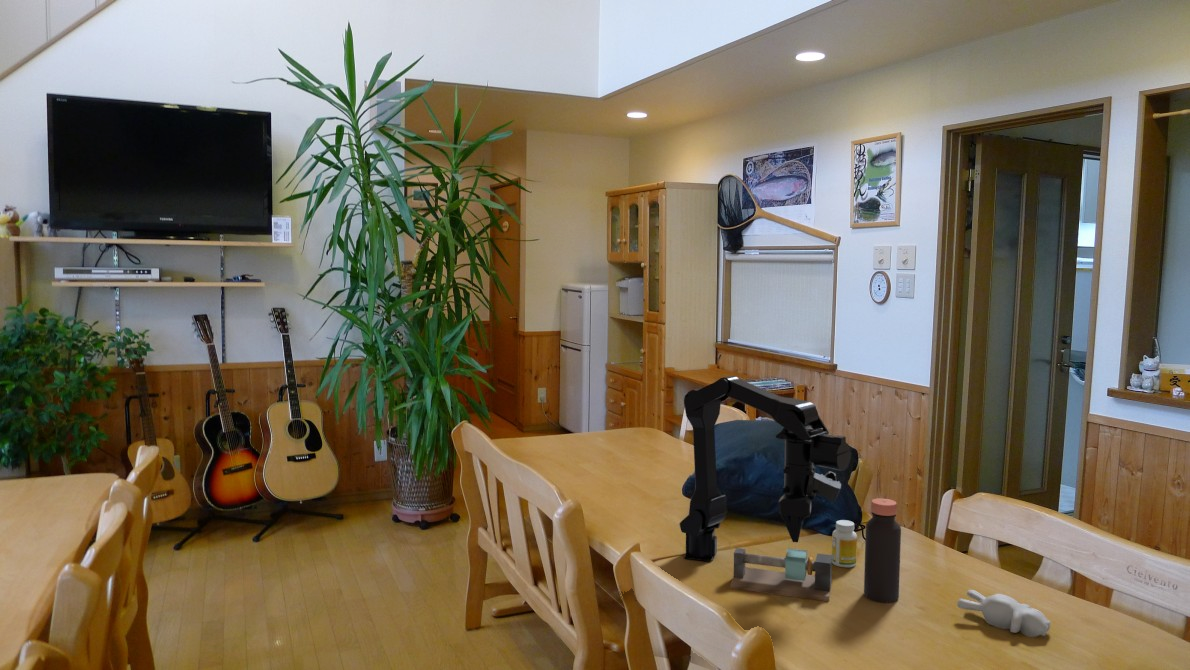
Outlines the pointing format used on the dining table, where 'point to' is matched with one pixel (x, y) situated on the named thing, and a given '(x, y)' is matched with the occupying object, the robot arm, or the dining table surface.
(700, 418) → the robot arm
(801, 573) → the sleeve
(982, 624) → the dining table surface
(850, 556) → the supplement bottle
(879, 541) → the water bottle
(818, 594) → the rod stand
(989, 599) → the bunny figurine
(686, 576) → the dining table surface
